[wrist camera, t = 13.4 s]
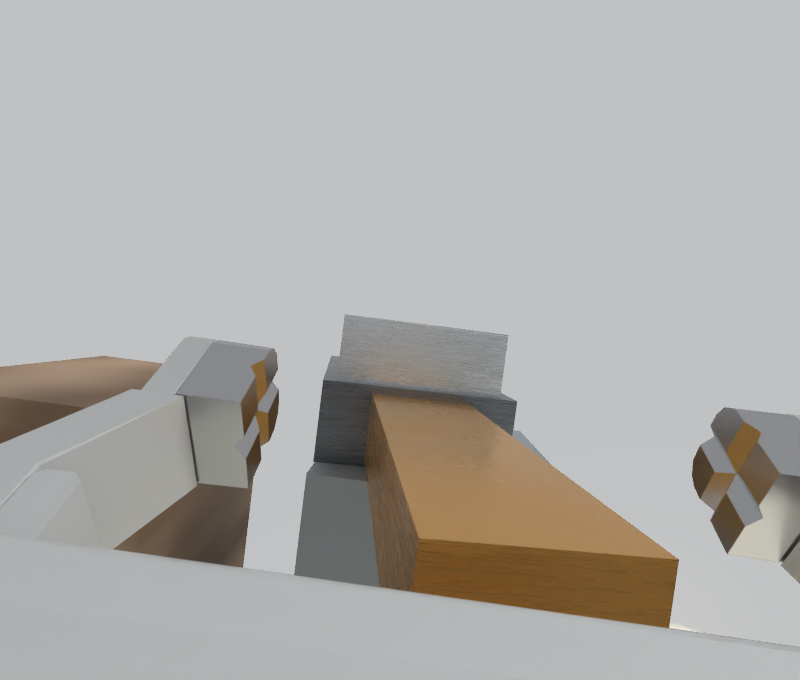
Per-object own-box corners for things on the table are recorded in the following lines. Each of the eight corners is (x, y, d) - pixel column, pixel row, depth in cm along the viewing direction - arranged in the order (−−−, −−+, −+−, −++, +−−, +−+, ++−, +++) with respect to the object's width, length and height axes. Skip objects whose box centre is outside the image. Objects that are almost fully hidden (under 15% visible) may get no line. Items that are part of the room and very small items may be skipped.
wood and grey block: (450, 422, 26) (462, 329, 26) (770, 755, 6) (828, 379, 6) (325, 408, 25) (336, 313, 25) (253, 734, 6) (303, 312, 6)
